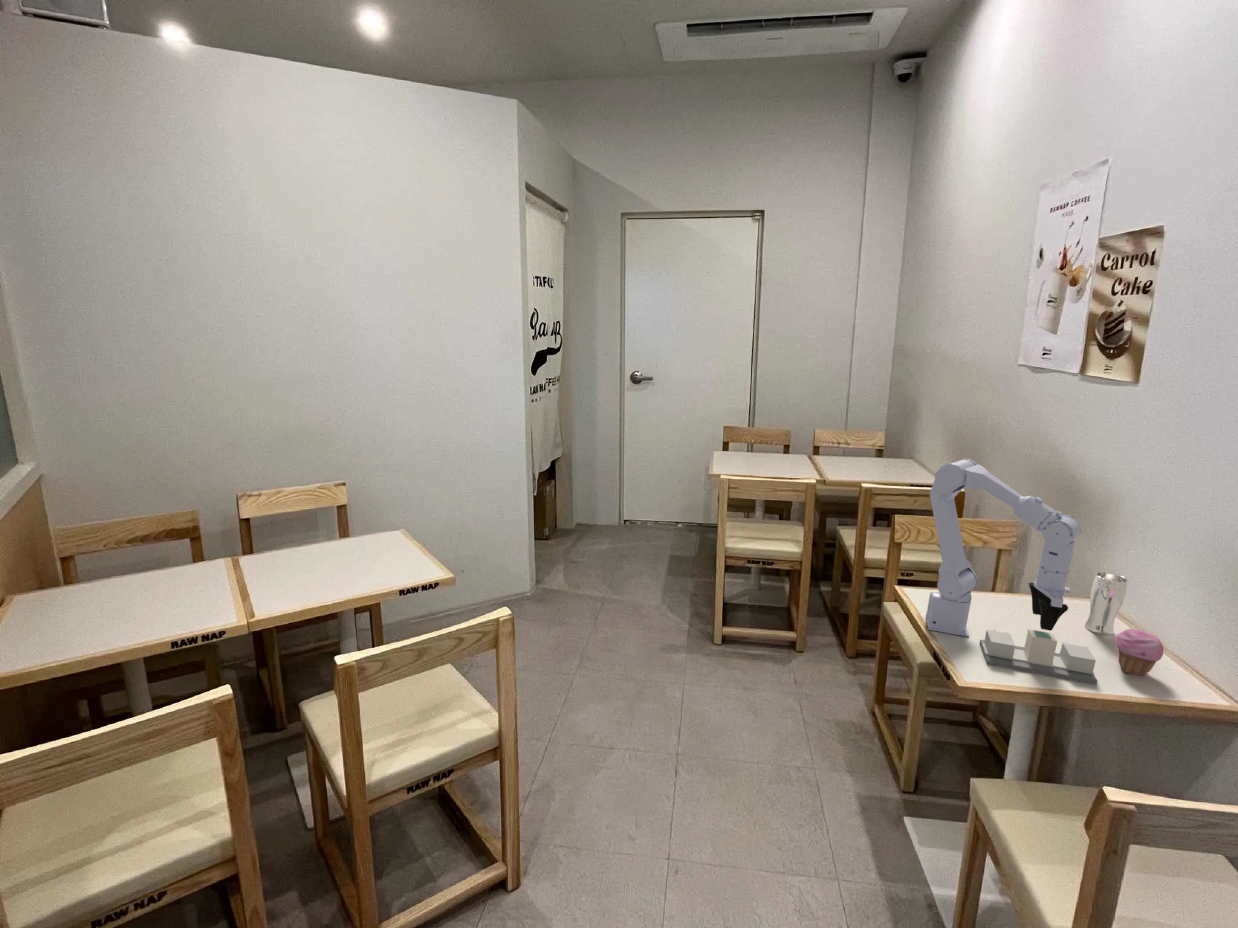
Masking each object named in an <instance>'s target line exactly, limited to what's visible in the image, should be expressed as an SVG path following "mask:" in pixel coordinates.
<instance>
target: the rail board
mask: <svg viewBox="0 0 1238 928" xmlns="http://www.w3.org/2000/svg"><path fill="white" fill-rule="evenodd" d="M979 646H980V648H981V652H982V654H983V658H984V661H985V663H986V665H990V666H995V667H1001V668H1005V669H1010V670H1016V671H1017V670H1018V671H1020V672H1021V671H1022V672H1026V673H1032V674H1038V675H1044V676H1049V677H1054V678H1060V679H1064V680H1069V681H1074V682H1075V681H1076V682H1081V683H1084V684H1085V683H1086V684H1091V685H1096V686H1097V685H1098V682H1099V681H1098V679H1097V677H1096V676H1095V672H1094V669H1095V665H1096V662H1097V660H1096V658H1095V657H1094V655H1093V653H1092V652H1091V651H1090V649H1089V647H1087V646H1082V645H1078V644H1072V643H1066V642H1062V644H1061V648H1060V652H1059V653H1058V652H1055V654H1054V659H1053V663H1052V664H1047V663H1041V662H1036V661H1030V660H1027V658H1026V655H1025V653H1024V647H1025V646H1023V647H1022V646H1019V645H1015V642H1014V640H1013V637H1012V635H1011V633H1008V632H1002V631H996V630H992V629H986V632H985V635H984V639H979Z"/></svg>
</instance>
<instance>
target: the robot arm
mask: <svg viewBox="0 0 1238 928" xmlns="http://www.w3.org/2000/svg"><path fill="white" fill-rule="evenodd" d="M933 475H934V481H933V484H932V486H931V487H930V488H931V489H930V492H929V497H930V503H931V504H930V505H931V509H932V513H933V520H934V524H935V530H936V535H937V539H938V540H937V541H938V546H939V552H940V555H941V561H942V562H941V564H940V566H939V569H938V580H937V590H938V591H931V592H930V593H929V597H928V603H927V610H926V614H925V619H926V623H927V628H928V630H929V631H935V632H940V633H945V634H951V635H957V636H961V637H962V636H963V637H970V633H969V628H968V626H967V624H968V621H969V614H970V609H971V608H970V607H971V602H972V591H974V590H975V589H976V588H977V587H978V585H979V578H978V576H977V574H976V573H975V571H974V570H973V566H972V563H971V562H970V561H969V560H968V559H967V558H966V555H965V554H966V553H965V550H964V543H963V537H962V533H961V528H960V522H959V517H958V513H957V507H956V506H957V505H956V501H955V498H956V496H957V495H958V494H960V492H961V491H962V490H963V489H967V490H969V489H971V490H972V489H973V490H974V489H975V490H977V489H979V490H983V491H985V492H986V493H988V494H989V495H991V496H993V497H994V498H996V499H998V500H999V501H1001V502H1003V503H1005V504H1006V505H1008V506H1010V507H1011V508H1012V511H1013V514H1014V516H1016V517H1017V518H1018V519H1020V520H1022V521H1023V522H1025V523H1026V524H1027V525H1029V526H1031V527H1032V528H1034V529H1035V530H1036V531H1038V532H1040V533H1042V537H1043V539H1044V544H1043V546H1042V551H1041V555H1040V559H1039V564H1038V568H1037V572H1036V579H1035V580H1034V582H1029V583H1028V587H1029V589H1030V594H1031V606H1032V607H1031V609H1032V614H1033V615H1036V616H1037V615H1038V616H1040V619H1039V622H1040V623H1039V625H1040V627H1039V628H1040V630H1044V631H1049V632H1050V631H1053V629H1054V628H1055V626H1056V624H1057V622H1058V621H1059V619H1060V618H1061V616H1063V614H1065V613H1066V612H1067V611H1069V606H1068V604H1065V603H1064V596H1065V594H1066V593H1067V594H1070V593H1071V591H1072V590H1071V589H1070V587H1069V586H1066V584H1067V580H1068V576H1069V572H1070V568H1071V567H1070V566H1071V563H1072V558H1073V554H1074V549H1075V544H1076V543H1075V542H1076V541H1075V540H1076V539H1077V538H1078V537H1079V536H1080V535H1081V532H1082V526H1081V524H1080V522H1079V521H1078V520H1077V519H1076V518H1074V516H1072V515H1069V514H1063V512H1061V511H1060V510H1058V511H1056V509H1054V508H1052V507H1050V506H1049V505H1047V504H1046V503H1044V502H1043V501H1044V500H1043V499H1042V498H1041V497H1039V496H1037V497H1035V496H1033V495H1027V496H1025V495H1024V496H1023V495H1022V494H1020V493H1019V492H1017V491H1016V490H1015V489H1014V488H1012V487H1011V486H1009V485H1008V484H1007V483H1006V482H1003V481H1002V480H1001V479H999V478H998V477H996V476H995V475H993V474H992V473H990V471H988V470H987V469H986V468H985V467H984V466H983V465H981V464H979V463H978V464H977V463H976V461H974V460H972V459H969V458H962V459H959V460H957V461H955V462H951V463H946V464H944V465H942V466H941V467H940V468H938V470H937V471H936V472H935V473H934V474H933Z"/></svg>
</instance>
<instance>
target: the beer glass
mask: <svg viewBox="0 0 1238 928" xmlns="http://www.w3.org/2000/svg"><path fill="white" fill-rule="evenodd" d="M1128 582H1129V581H1128V579H1127V578H1125V577H1124V576H1123V575H1120V574H1116V573H1114V572H1108V571H1098V572H1096V573H1095V577H1094V580H1093V582H1092V586H1091V589H1090V598H1089V599H1090V601H1089V602H1090V603H1089V604H1090V607H1089V608H1090V610H1089V615H1088V618H1087V620H1086V622H1085V624H1084V625H1085V626H1084V627H1085V628H1086V629H1087V631H1090V632H1092V633H1094V634H1098V635H1101V636H1112V635H1114V632H1115V631H1114V624H1115V620H1116V617H1117V615H1118V613H1119V611H1121V610H1120V609H1121V607H1122V606H1123V603H1124V601H1125V598H1126V593H1127V586H1128Z"/></svg>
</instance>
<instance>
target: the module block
mask: <svg viewBox="0 0 1238 928" xmlns="http://www.w3.org/2000/svg"><path fill="white" fill-rule="evenodd" d="M1057 645H1058V640H1057V638H1056V636H1055V635H1054V633H1053V632H1050V631H1049V632H1048V631H1042V630H1036V629H1032V628H1031V629H1030V628H1028V629H1027V633H1026V639H1025V644H1024V646H1023V647H1024V653H1025V655H1026V658H1027V660H1030V661H1036V662H1041V663H1047V664H1052V663H1053V659H1054V654H1055V653H1056V649H1057Z"/></svg>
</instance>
